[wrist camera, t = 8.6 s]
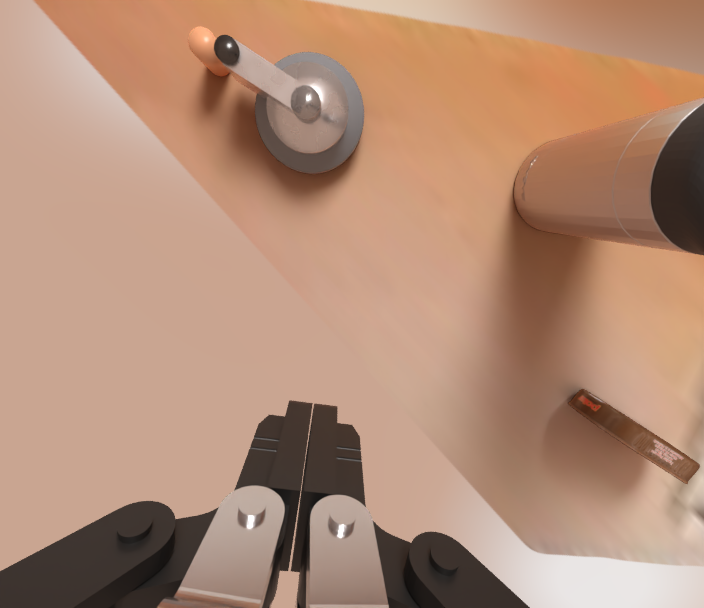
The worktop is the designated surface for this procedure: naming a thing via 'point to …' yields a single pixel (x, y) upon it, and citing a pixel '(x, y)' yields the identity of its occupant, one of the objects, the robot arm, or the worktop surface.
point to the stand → (312, 164)
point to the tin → (634, 436)
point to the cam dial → (291, 97)
